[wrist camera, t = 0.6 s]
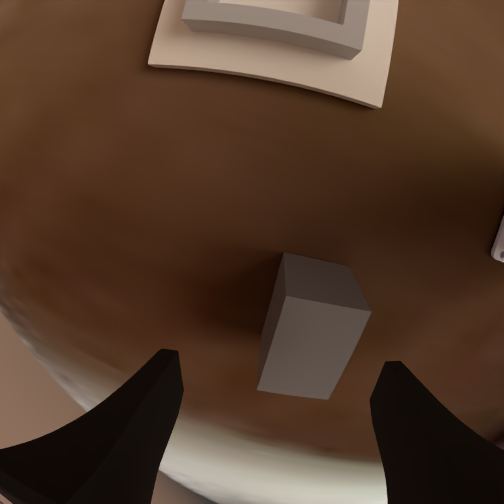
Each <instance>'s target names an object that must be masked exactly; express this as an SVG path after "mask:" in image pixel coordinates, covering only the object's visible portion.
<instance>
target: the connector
mask: <svg viewBox="0 0 504 504" xmlns="http://www.w3.org/2000/svg"><path fill="white" fill-rule="evenodd" d="M371 312H372V311H371V309H370V307H369V305H368V303H367V301H366V299H365V297H364V294H363V292H362V290H361V288H360V286H359V284H358V282H357V280H356V278H355V276H354V274H353V272H352V270H351V268H350V266H346V265H342V264H337V263H332V262H328V261H323V260H319V259H314V258H309V257H305V256H300V255H295V254H291V253H286V252H283V256H282V260H281V263H280V267H279V271H278V275H277V279H276V282H275V286H274V290H273V294H272V297H271V301H270V305H269V308H268V312H267V316H266V319H265V323H264V327H263V330H262V334H261V343H260V355H259V368H258V380H257V390H260V391H266V392H272V393H279V394H286V395H293V396H300V397H309V398H317V399H327V400H328V399H329V397H330V395H331V393H332V391H333V390H334V388H335V386H336V384H337V382H338V380H339V378H340V376H341V375H342V373H343V371H344V369H345V367H346V365H347V363H348V361H349V359H350V357H351V355H352V353H353V351H354V349H355V347H356V345H357V343H358V341H359V339H360V336H361V334H362V332H363V330H364V328H365V326H366V323H367V321H368V319H369V317H370V314H371Z"/></svg>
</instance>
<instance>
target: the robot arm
mask: <svg viewBox="0 0 504 504" xmlns="http://www.w3.org/2000/svg"><path fill="white" fill-rule="evenodd" d="M501 252H502V254H501ZM500 254H501V255H500ZM491 256H492V257H493V258H494V259H495V260H498V261H501V262H504V216H503V219H502V222H501V225H500V228H499V231H498V234H497V237H496V239H495V242H494V245H493V248H492V250H491ZM183 392H184V388H183V382H182V375H181V368H180V361H179V354H178V351H175V350H168V349H160V350H159V351H158V352H157V353H156V354H155V355H154V356H153V357H152V358H151V359H150V360H149V361H148V362H147V363H146V364H145V365H144V366H143V367H142V368H141V369H139V370H138V371H137V372H136V373H135V374H134V375H133V376H132V377H131V378H130V379H129V380H128V381H127V382H125V383H124V384H123V385H122V386H121V387H120V388H119V389H117V390H116V391H115V392H114V393H112V394H111V395H110V396H109V397H108V398H106V399H105V400H104V401H103V402H101V403H100V404H98V405H97V406H96V407H94V408H93V409H91V410H90V411H89V412H87V413H85V414H84V415H82V416H81V417H79V418H78V419H76V420H74V421H72V422H71V423H69V424H67V425H65V426H63V427H61V428H59V429H57V430H55V431H53V432H51V433H49V434H46V435H44V436H42V437H39V438H37V439H34V440H31V441H28V442H25V443H22V444H19V445H15V446H12V447H8V448H4V449H0V494H2V495H3V496H4V497H5V498H7V499H8V500H9V501H10V502H12V503H13V504H151V499H152V494H153V490H154V485H155V480H156V476H157V472H158V469H159V466H160V463H161V460H162V457H163V454H164V452H165V449H166V446H167V444H168V441H169V438H170V436H171V433H172V430H173V428H174V425H175V422H176V419H177V417H178V413H179V409H180V405H181V401H182V396H183ZM370 407H371V416H372V423H373V427H374V431H375V435H376V439H377V443H378V447H379V451H380V455H381V459H382V463H383V468H384V472H385V478H386V486H387V498H388V504H504V450H502V449H501V448H499V447H497V446H495V445H494V444H492V443H490V442H489V441H487V440H486V439H484V438H482V437H481V436H480V435H478V434H477V433H475V432H474V431H473V430H471V429H470V428H469V427H468V426H466V425H465V424H464V423H462V422H461V421H460V420H459V419H458V418H456V417H455V416H454V415H453V414H452V413H451V412H450V411H449V410H448V409H447V408H446V407H445V406H444V405H442V404H441V403H440V402H439V401H438V400H437V399H436V398H435V397H434V396H433V395H432V394H431V392H430V391H429V390H428V389H427V388H426V387H425V386H424V385H423V384H422V383H421V382H420V381H419V380H418V379H417V378H416V377H415V376H414V375H413V373H412V372H411V371H410V370H409V369H408V368H407V367H406V366H405V365H404V364H403V363H402V362H401V361H387V362H385V363H384V366H383V368H382V371H381V374H380V376H379V378H378V381H377V383H376V386H375V388H374V391H373V393H372V395H371V397H370ZM0 504H3V503H2V502H1V501H0Z"/></svg>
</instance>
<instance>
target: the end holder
mask: <svg viewBox="0 0 504 504" xmlns="http://www.w3.org/2000/svg"><path fill="white" fill-rule="evenodd" d="M397 9H398V0H165V1H164V4H163V8H162V11H161V14H160V18H159V21H158V25H157V29H156V32H155V36H154V40H153V44H152V48H151V52H150V56H149V60H148V64H149V65H151V66H153V67H159V68H176V69H189V70H199V71H209V72H217V73H225V74H232V75H239V76H245V77H251V78H257V79H262V80H268V81H273V82H278V83H283V84H287V85H292V86H296V87H301V88H305V89H309V90H313V91H317V92H321V93H324V94H328V95H332V96H335V97H339V98H342V99H346V100H349V101H352V102H355V103H359V104H362V105H365V106H368V107H371V108H374V109H378V108H381V107H382V102H383V97H384V92H385V87H386V82H387V76H388V71H389V65H390V59H391V53H392V46H393V40H394V32H395V25H396V17H397Z"/></svg>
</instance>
